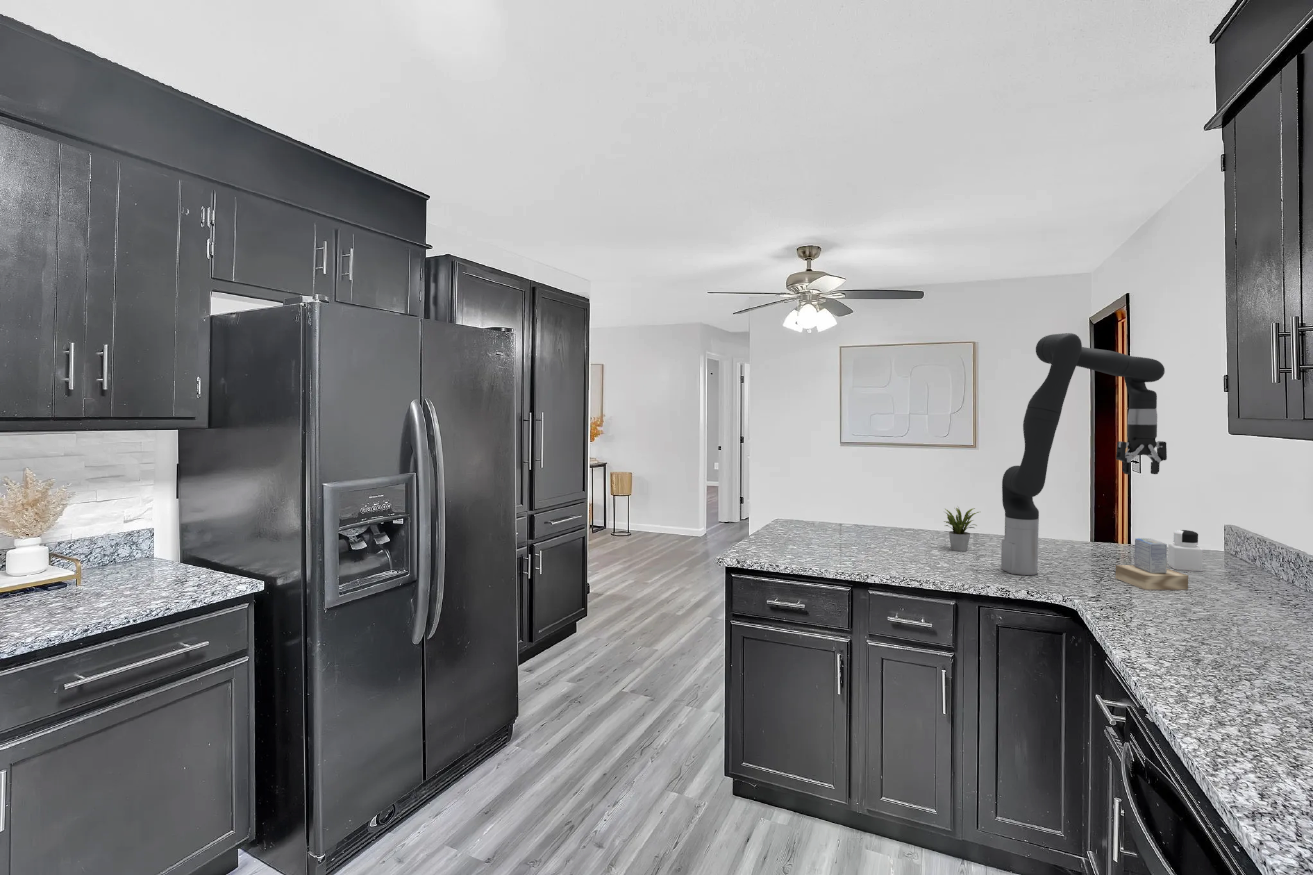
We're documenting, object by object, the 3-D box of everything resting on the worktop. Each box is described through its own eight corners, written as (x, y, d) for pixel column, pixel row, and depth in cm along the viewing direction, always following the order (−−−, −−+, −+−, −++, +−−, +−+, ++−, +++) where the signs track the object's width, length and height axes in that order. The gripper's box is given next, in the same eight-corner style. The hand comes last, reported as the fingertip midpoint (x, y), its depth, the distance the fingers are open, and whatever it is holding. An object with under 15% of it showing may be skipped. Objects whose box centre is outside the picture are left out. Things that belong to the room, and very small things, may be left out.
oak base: (1144, 589, 182) (1145, 575, 182) (1115, 578, 194) (1115, 565, 194) (1187, 589, 182) (1188, 575, 182) (1155, 578, 194) (1156, 565, 194)
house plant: (987, 548, 235) (988, 504, 235) (983, 556, 224) (983, 509, 223) (944, 544, 243) (945, 501, 242) (938, 551, 231) (939, 506, 231)
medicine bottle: (1195, 566, 207) (1196, 529, 207) (1202, 571, 201) (1204, 533, 200) (1167, 564, 210) (1168, 528, 210) (1174, 569, 204) (1175, 532, 203)
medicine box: (1167, 573, 184) (1167, 543, 183) (1149, 573, 184) (1150, 543, 184) (1150, 567, 192) (1150, 538, 191) (1133, 566, 192) (1134, 537, 192)
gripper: (1127, 423, 201) (1126, 475, 202) (1174, 423, 201) (1172, 475, 201) (1111, 423, 208) (1110, 472, 209) (1156, 422, 208) (1154, 472, 209)
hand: (1140, 474), depth 205 cm, fingers open, 8 cm apart
